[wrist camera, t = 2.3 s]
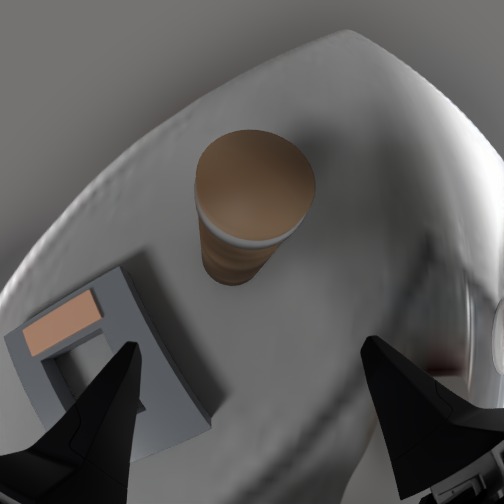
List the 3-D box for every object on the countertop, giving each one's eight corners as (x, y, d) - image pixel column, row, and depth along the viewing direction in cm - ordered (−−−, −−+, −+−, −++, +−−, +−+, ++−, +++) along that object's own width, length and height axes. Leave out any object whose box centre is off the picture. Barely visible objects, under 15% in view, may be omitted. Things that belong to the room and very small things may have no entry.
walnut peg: (273, 268, 24) (339, 202, 11) (220, 298, 22) (233, 259, 10) (242, 217, 25) (275, 116, 12) (190, 244, 23) (173, 153, 11)
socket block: (211, 418, 19) (211, 429, 17) (88, 467, 16) (77, 479, 13) (127, 272, 22) (117, 264, 19) (18, 337, 18) (1, 336, 15)
